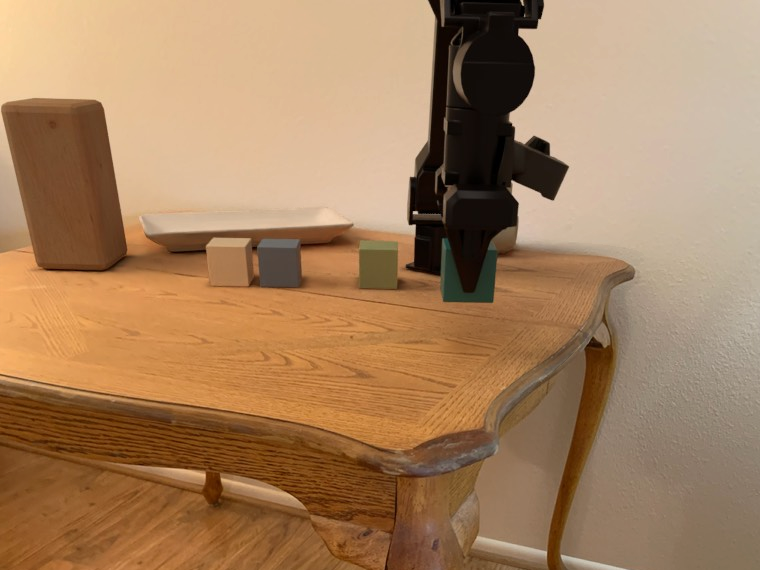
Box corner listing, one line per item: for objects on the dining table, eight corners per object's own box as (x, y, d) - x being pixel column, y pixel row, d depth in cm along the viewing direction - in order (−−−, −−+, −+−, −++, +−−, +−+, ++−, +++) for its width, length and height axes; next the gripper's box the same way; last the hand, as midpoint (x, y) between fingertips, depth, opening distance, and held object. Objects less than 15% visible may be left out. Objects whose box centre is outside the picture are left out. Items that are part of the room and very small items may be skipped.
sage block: (396, 279, 105) (397, 241, 102) (397, 289, 101) (397, 249, 98) (360, 278, 105) (360, 240, 102) (359, 288, 101) (358, 248, 98)
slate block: (302, 277, 105) (300, 239, 102) (298, 287, 100) (296, 247, 98) (265, 277, 105) (262, 238, 102) (260, 286, 100) (256, 246, 98)
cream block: (254, 276, 104) (251, 238, 102) (248, 286, 100) (245, 246, 98) (217, 276, 104) (213, 237, 102) (210, 285, 100) (205, 245, 97)
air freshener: (466, 241, 126) (471, 174, 120) (517, 244, 125) (523, 177, 119) (457, 256, 117) (461, 185, 111) (511, 260, 116) (517, 188, 110)
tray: (141, 234, 125) (137, 211, 123) (328, 225, 134) (327, 204, 132) (149, 258, 111) (145, 233, 110) (356, 246, 121) (355, 223, 119)
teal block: (487, 289, 80) (492, 239, 77) (493, 303, 75) (497, 250, 73) (440, 288, 80) (442, 237, 77) (442, 302, 75) (445, 249, 73)
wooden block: (107, 272, 105) (77, 104, 94) (34, 270, 105) (-5, 102, 94) (130, 255, 113) (105, 99, 102) (63, 253, 113) (30, 97, 102)
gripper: (590, 118, 61) (564, 314, 69) (549, 102, 76) (532, 264, 85) (450, 115, 60) (441, 312, 69) (438, 99, 76) (431, 262, 85)
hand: (466, 285), depth 77 cm, fingers closed on teal block, 5 cm apart
